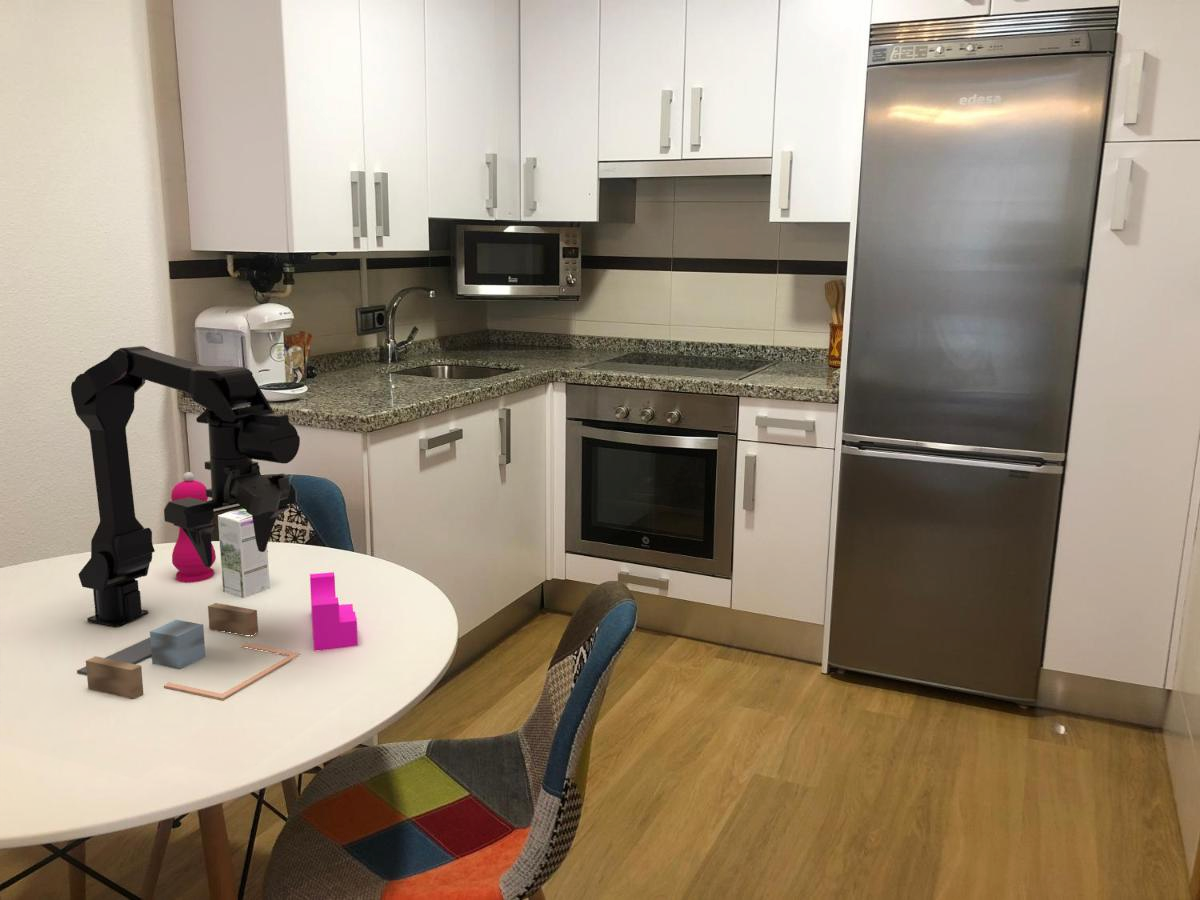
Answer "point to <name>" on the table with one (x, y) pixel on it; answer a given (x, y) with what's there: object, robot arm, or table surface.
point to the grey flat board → (129, 654)
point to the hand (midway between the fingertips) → (235, 558)
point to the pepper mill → (184, 550)
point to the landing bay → (243, 684)
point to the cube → (177, 644)
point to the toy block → (330, 615)
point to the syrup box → (241, 555)
